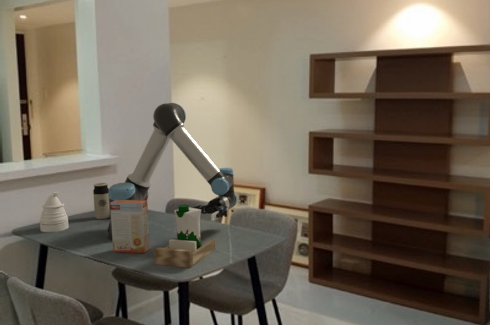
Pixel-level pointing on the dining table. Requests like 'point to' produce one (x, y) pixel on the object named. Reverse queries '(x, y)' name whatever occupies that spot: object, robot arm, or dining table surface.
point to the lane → (182, 255)
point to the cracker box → (130, 226)
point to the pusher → (183, 244)
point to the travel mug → (101, 200)
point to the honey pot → (53, 215)
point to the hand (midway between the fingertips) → (196, 217)
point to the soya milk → (188, 224)
